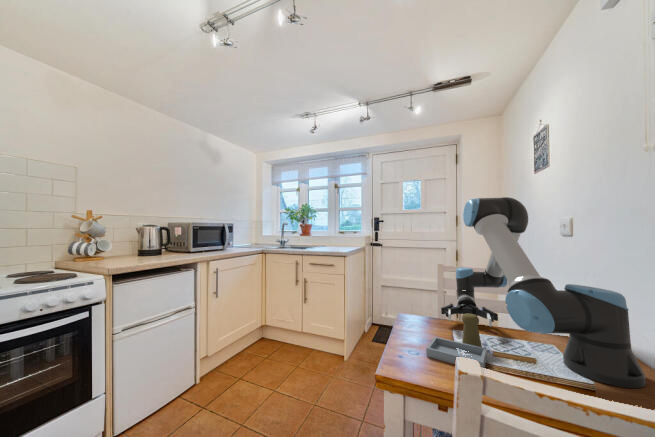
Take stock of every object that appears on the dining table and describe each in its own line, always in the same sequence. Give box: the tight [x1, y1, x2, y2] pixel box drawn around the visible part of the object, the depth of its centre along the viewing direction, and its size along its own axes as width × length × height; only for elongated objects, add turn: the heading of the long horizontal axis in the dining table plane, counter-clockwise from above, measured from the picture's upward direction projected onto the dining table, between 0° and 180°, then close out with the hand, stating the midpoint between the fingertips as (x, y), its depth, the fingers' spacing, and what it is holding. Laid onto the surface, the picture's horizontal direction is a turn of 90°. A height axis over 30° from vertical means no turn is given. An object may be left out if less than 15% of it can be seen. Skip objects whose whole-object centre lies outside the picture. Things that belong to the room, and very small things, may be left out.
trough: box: [425, 336, 488, 368], centre depth 78 cm, size 16×11×3 cm
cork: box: [461, 313, 483, 347], centre depth 84 cm, size 6×6×11 cm
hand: (469, 320), depth 93 cm, fingers open, 13 cm apart
